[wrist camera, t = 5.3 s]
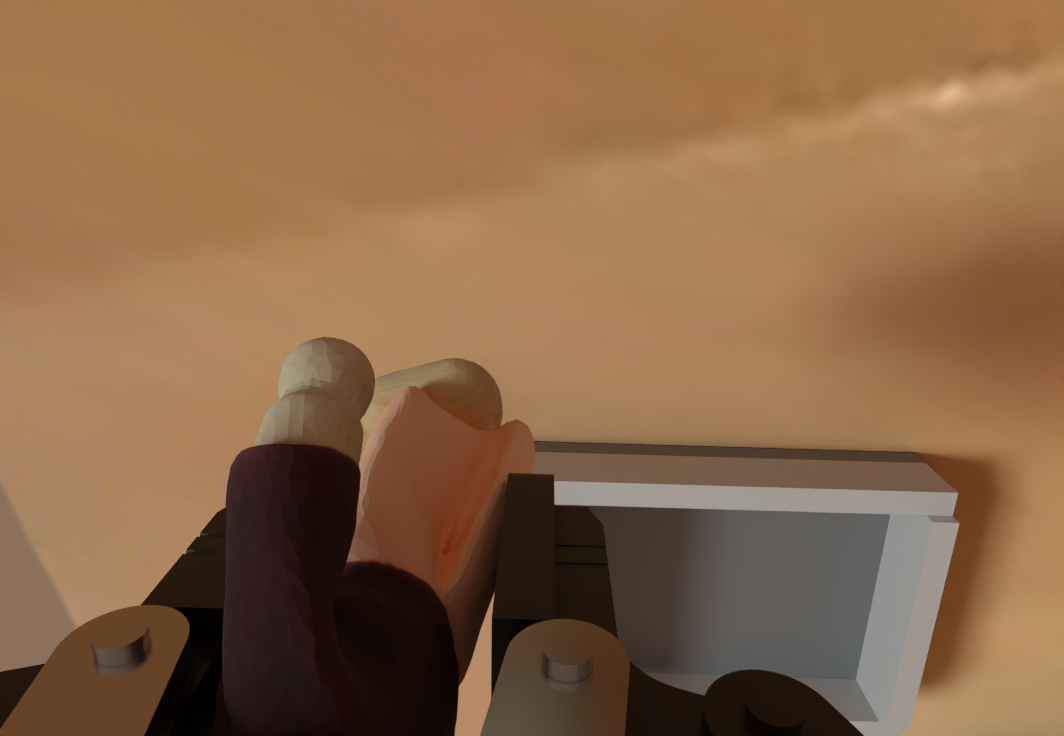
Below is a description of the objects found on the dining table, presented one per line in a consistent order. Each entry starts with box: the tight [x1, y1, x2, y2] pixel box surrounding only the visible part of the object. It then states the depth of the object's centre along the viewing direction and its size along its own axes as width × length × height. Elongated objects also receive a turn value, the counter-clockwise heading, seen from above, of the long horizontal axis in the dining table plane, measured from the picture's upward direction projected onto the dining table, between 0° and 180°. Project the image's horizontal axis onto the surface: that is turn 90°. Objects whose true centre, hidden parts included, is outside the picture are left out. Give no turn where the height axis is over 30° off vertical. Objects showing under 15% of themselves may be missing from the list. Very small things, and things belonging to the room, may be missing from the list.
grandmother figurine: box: [210, 337, 535, 736], centre depth 9 cm, size 8×4×13 cm, turn 13°
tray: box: [531, 442, 960, 736], centre depth 31 cm, size 20×12×4 cm, turn 89°
